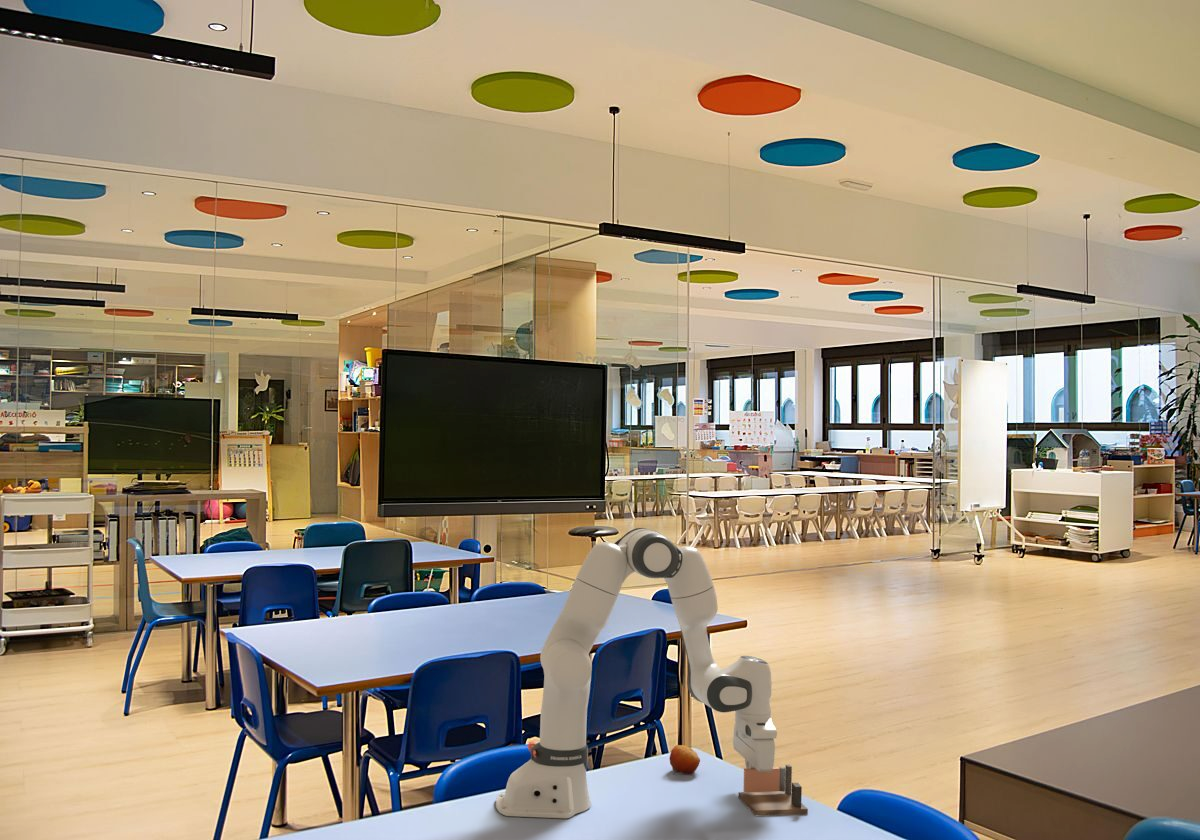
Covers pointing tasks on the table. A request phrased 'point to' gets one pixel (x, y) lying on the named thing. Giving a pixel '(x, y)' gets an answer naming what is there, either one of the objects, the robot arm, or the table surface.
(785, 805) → the gate frame
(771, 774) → the gate
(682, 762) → the fruit
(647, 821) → the table surface
